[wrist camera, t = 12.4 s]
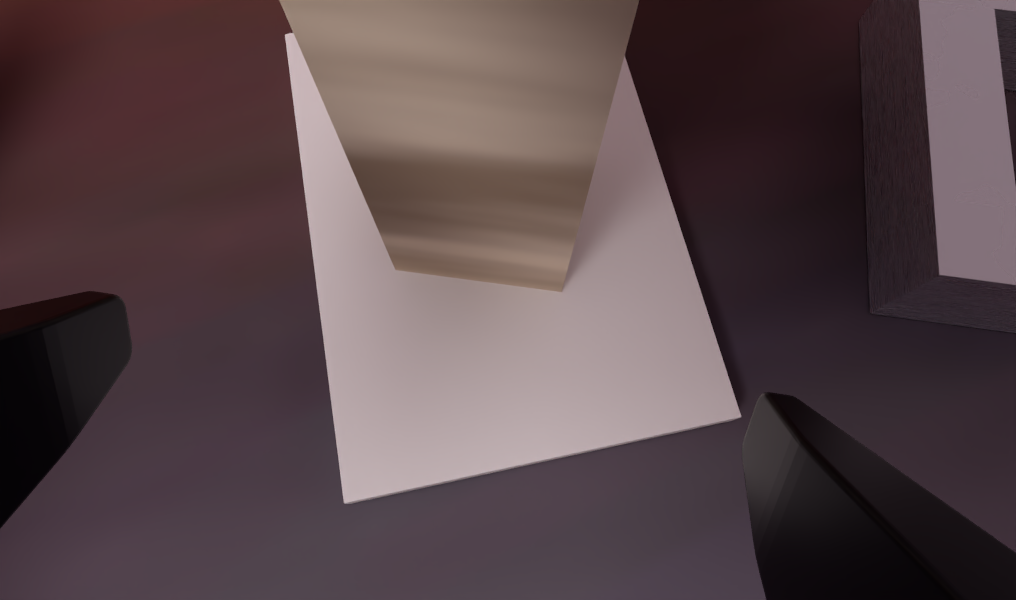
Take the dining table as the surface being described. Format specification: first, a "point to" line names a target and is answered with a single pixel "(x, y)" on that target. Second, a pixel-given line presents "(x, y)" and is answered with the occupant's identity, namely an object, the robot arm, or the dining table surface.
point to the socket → (940, 160)
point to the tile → (507, 327)
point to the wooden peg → (470, 123)
